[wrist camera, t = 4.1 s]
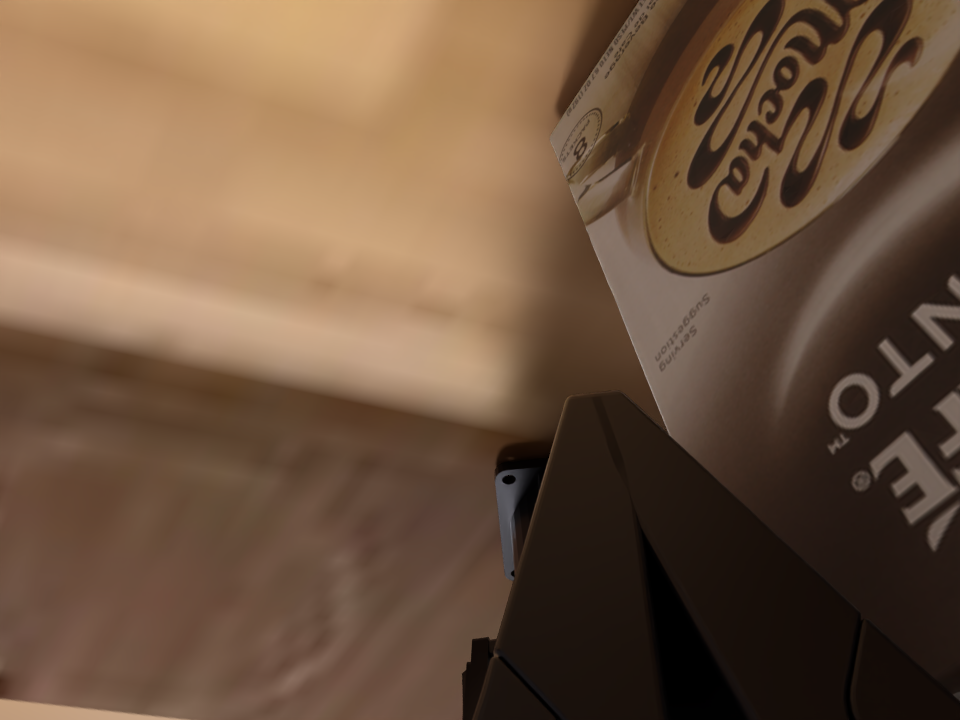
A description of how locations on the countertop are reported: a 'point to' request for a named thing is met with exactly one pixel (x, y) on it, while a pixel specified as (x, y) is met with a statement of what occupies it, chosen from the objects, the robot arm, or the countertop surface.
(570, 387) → the countertop surface
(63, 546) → the countertop surface
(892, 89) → the coffee box
